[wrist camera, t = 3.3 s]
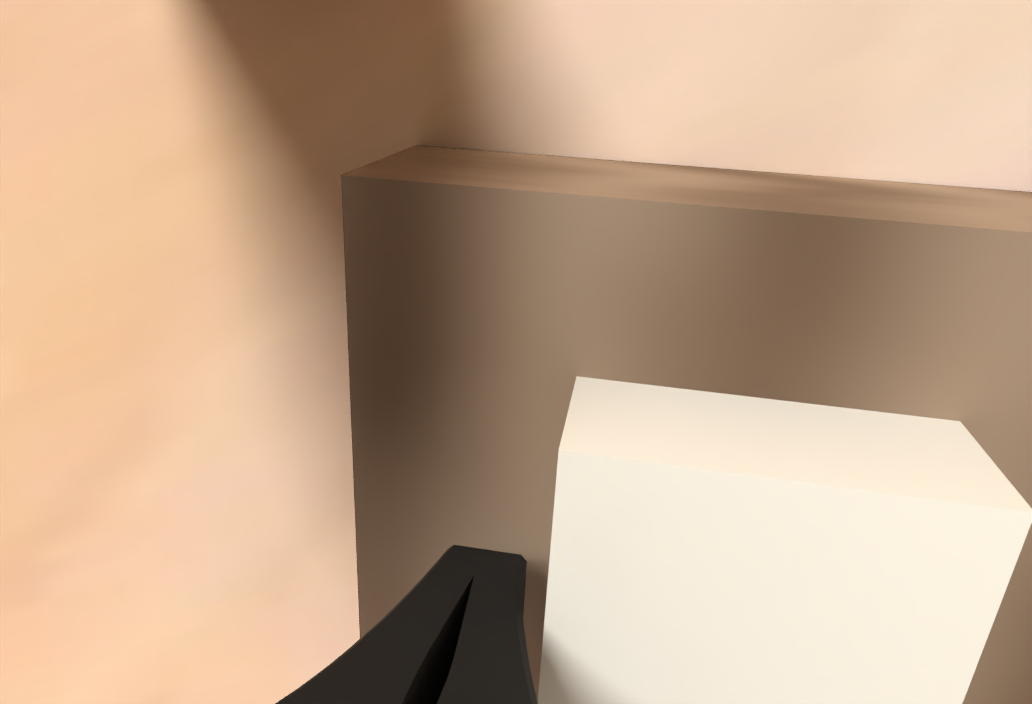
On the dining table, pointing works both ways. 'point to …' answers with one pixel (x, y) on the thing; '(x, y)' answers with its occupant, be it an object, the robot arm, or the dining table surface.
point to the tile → (769, 552)
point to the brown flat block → (657, 335)
